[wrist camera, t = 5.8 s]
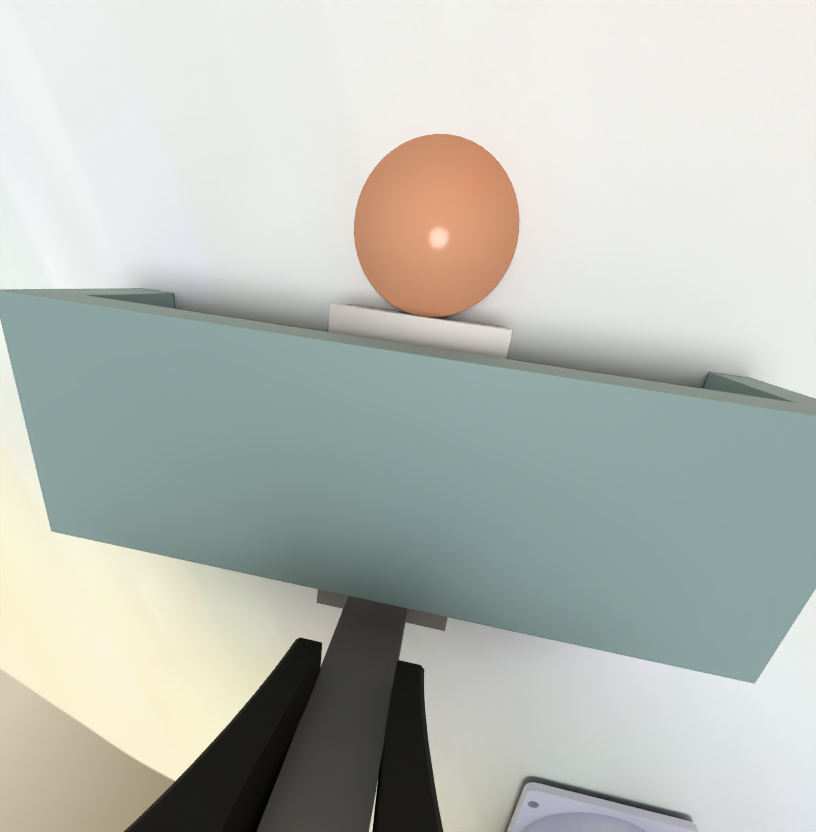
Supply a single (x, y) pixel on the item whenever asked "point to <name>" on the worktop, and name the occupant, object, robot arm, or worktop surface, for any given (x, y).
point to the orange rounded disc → (436, 225)
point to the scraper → (359, 639)
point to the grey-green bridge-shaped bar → (426, 474)
